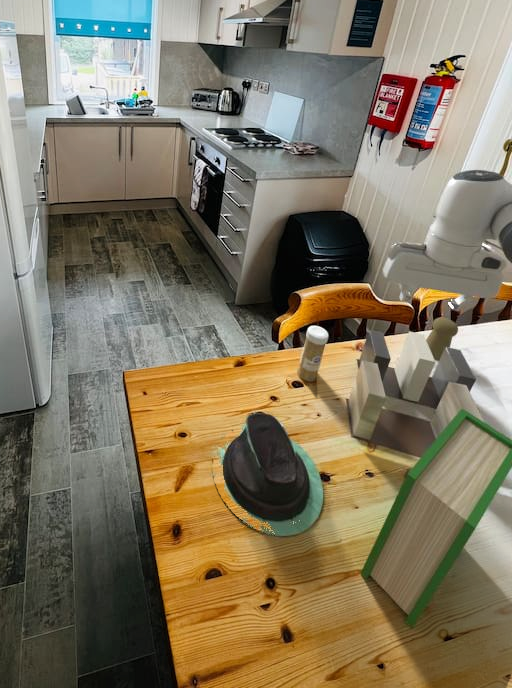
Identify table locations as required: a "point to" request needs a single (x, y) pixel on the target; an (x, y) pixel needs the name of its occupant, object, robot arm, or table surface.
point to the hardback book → (438, 511)
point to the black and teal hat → (272, 477)
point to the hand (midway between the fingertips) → (428, 304)
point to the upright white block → (414, 366)
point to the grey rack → (446, 371)
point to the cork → (441, 336)
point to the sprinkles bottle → (312, 353)
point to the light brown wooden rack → (400, 414)
